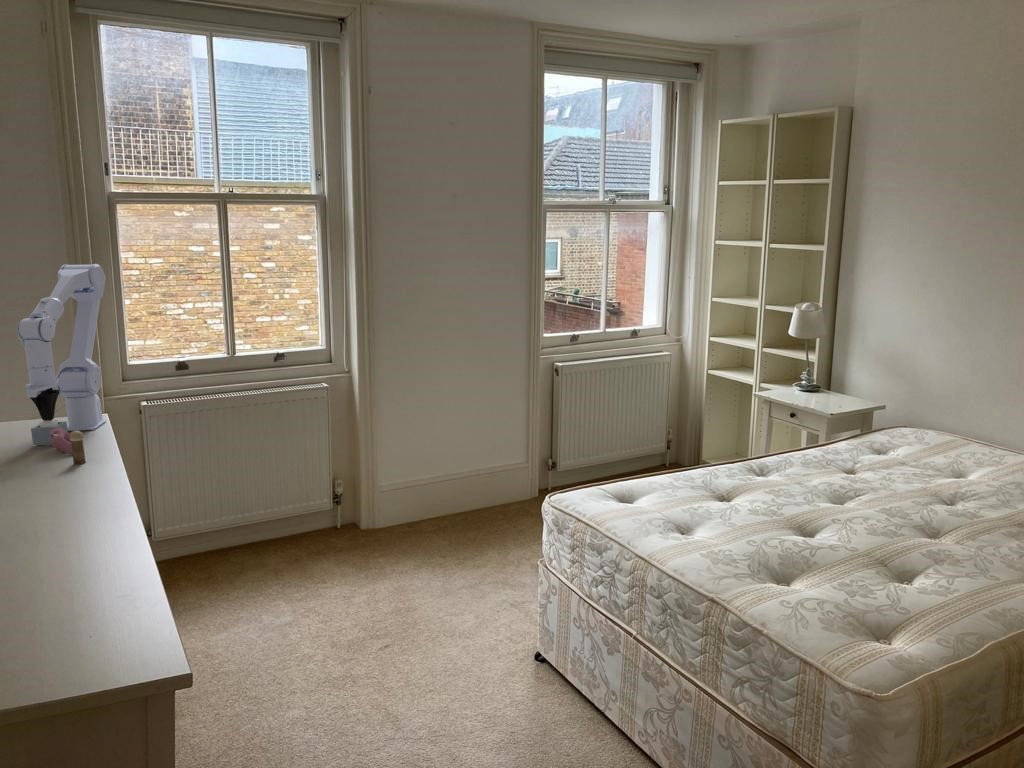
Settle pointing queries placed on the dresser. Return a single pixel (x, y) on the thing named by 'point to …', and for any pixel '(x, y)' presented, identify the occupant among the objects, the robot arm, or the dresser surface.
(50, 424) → the dome
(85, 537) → the dresser surface
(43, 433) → the hollow square tube
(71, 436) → the post
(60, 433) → the video game controller
